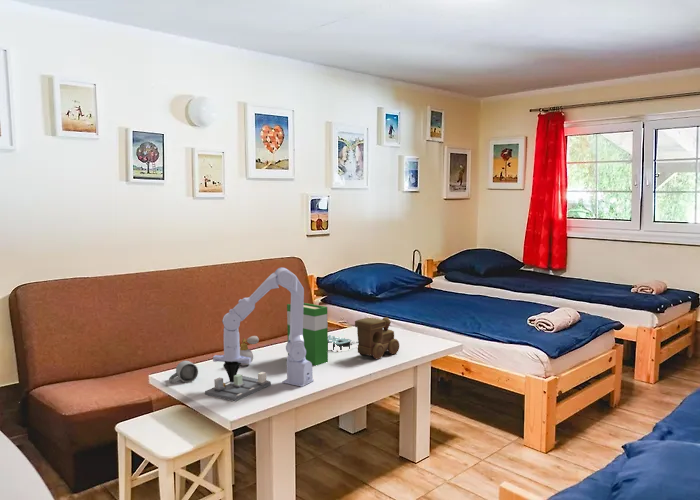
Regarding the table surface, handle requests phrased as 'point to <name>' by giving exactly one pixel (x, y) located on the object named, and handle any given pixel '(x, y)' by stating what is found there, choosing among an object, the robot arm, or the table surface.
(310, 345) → the hardback book
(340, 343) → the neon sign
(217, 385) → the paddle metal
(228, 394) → the panel
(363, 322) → the wooden toy train
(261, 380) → the paddle cream
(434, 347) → the table surface
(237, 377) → the pale mint cube
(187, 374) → the ceramic mug
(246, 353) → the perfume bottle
